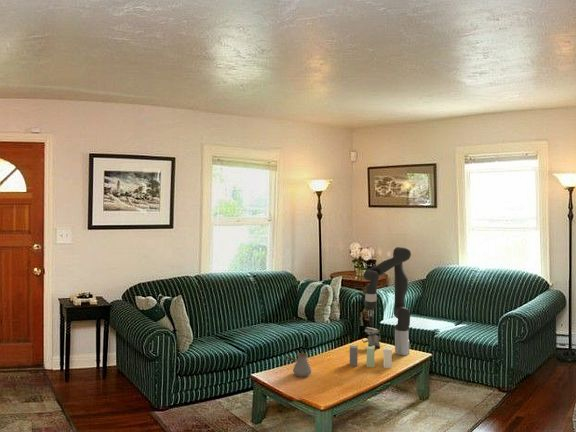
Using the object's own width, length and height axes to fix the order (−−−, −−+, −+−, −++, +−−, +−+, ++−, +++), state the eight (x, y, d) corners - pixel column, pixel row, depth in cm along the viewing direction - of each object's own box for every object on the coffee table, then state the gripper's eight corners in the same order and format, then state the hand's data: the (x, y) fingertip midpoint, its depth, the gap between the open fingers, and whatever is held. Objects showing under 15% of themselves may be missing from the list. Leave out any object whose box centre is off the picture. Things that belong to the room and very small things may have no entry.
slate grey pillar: (349, 363, 336) (350, 345, 335) (357, 363, 335) (357, 345, 334) (349, 365, 331) (349, 347, 330) (357, 366, 330) (357, 348, 330)
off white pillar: (383, 365, 332) (383, 347, 332) (391, 365, 332) (391, 347, 331) (383, 367, 327) (383, 349, 327) (391, 368, 327) (391, 349, 326)
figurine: (370, 345, 376) (370, 325, 376) (381, 349, 367) (381, 328, 366) (361, 347, 371) (361, 327, 370) (373, 351, 362) (373, 330, 361)
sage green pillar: (366, 364, 334) (366, 346, 334) (374, 364, 333) (374, 346, 333) (366, 366, 329) (366, 348, 329) (374, 367, 328) (374, 348, 328)
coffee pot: (300, 370, 322) (300, 347, 321) (315, 374, 314) (315, 350, 313) (278, 379, 305) (278, 355, 305) (293, 384, 298) (293, 359, 297)
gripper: (365, 297, 347) (365, 322, 347) (365, 301, 333) (365, 327, 334) (376, 298, 345) (376, 323, 346) (376, 302, 332) (376, 328, 333)
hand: (370, 325), depth 340 cm, fingers closed
